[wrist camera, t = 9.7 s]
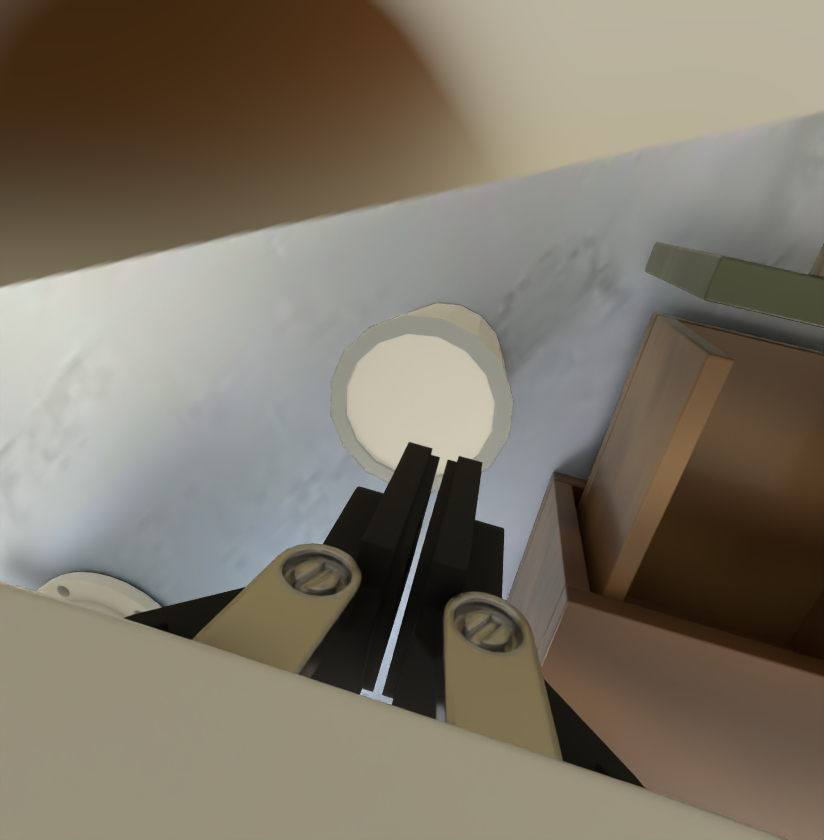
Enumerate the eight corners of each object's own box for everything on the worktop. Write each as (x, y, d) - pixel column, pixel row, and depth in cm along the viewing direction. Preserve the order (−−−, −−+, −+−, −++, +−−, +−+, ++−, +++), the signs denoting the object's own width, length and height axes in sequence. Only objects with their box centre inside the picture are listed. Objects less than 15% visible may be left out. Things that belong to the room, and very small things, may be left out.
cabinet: (552, 471, 27) (567, 600, 18) (860, 555, 25) (1045, 742, 16) (466, 714, 34) (446, 895, 25) (704, 791, 32) (774, 1013, 23)
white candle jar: (547, 351, 25) (555, 399, 18) (455, 453, 27) (434, 525, 21) (431, 258, 24) (397, 273, 18) (349, 370, 27) (295, 418, 21)
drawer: (709, 94, 19) (819, 23, 12) (1117, 174, 18) (1514, 148, 11) (534, 568, 28) (538, 692, 21) (803, 647, 27) (908, 809, 19)
